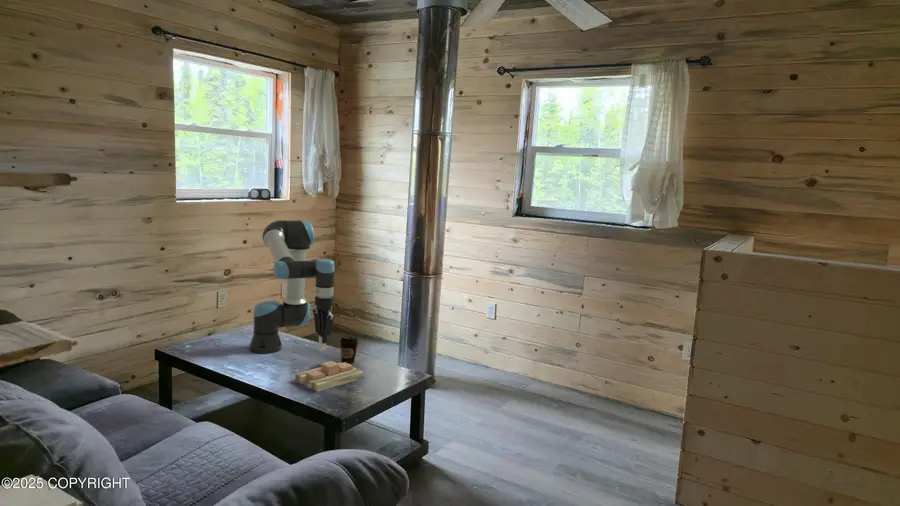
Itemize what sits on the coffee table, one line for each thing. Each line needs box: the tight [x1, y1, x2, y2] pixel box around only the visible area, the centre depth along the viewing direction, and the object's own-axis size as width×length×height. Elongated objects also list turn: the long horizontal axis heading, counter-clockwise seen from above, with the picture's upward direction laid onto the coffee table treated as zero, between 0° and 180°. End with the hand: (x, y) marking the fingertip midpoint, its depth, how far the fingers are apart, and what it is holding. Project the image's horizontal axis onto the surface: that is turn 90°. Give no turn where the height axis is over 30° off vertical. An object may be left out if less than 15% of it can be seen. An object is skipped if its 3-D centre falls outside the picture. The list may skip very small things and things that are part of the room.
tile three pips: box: [339, 362, 354, 373], centre depth 247 cm, size 6×6×5 cm
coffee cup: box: [339, 334, 359, 366], centre depth 262 cm, size 9×8×13 cm
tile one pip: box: [306, 370, 325, 381], centre depth 236 cm, size 6×6×5 cm
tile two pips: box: [320, 360, 339, 377], centre depth 241 cm, size 6×6×5 cm
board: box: [294, 361, 364, 393], centre depth 242 cm, size 16×24×3 cm, turn 139°
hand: (322, 349), depth 236 cm, fingers closed
